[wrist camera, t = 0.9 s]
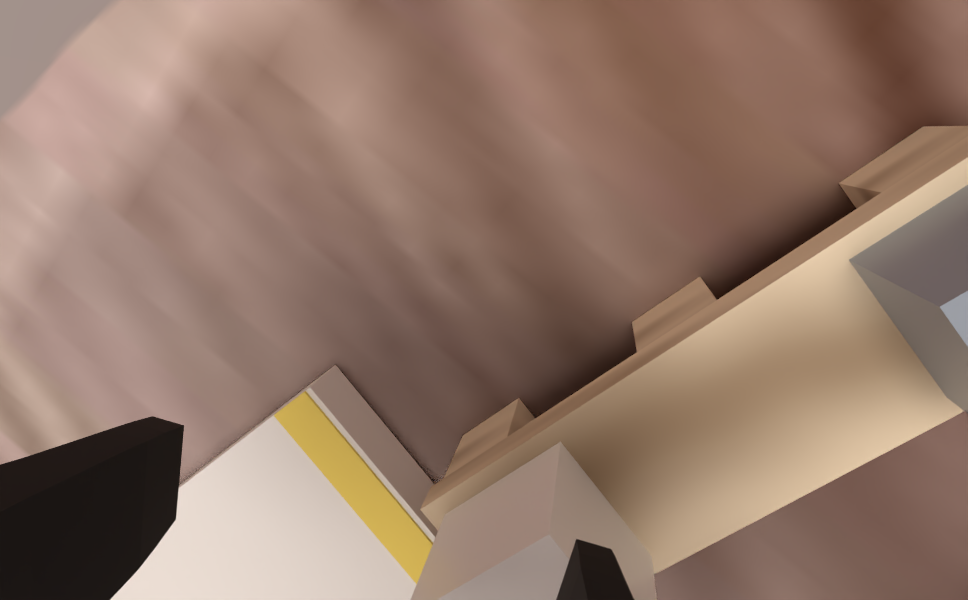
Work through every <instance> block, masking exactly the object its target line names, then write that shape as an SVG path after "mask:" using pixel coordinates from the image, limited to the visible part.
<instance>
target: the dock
mask: <svg viewBox="0 0 968 600" xmlns="http://www.w3.org/2000/svg"><path fill="white" fill-rule="evenodd" d="M433 485H434V483H433V482H432V481H431V480H430V478H429V477H428V476H427V475H426V473H425V472H424V471H423V470H422V469H421V467H420V466H419V465H418V464H417V463H416V461H415V460H414V459H413V458H412V457H411V455H410V454H409V453H408V452H407V451H406V449H405V448H404V447H403V446H402V444H401V443H400V442H399V441H398V440H397V438H396V437H395V436H394V435H393V434H392V432H391V431H390V430H389V429H388V428H387V426H386V425H385V424H384V423H383V422H382V420H381V419H380V418H379V417H378V415H377V414H376V413H375V412H374V411H373V409H372V408H371V407H370V406H369V405H368V403H367V402H366V401H365V400H364V399H363V397H362V396H361V395H360V394H359V392H358V391H357V390H356V389H355V388H354V386H353V385H352V384H351V383H350V382H349V380H348V379H347V378H346V377H345V376H344V374H343V373H342V372H341V371H340V370H339V368H338V367H337V366H336V365H334V366H333V367H332V368H330V369H329V370H328V371H327V372H325V373H324V374H323V375H321V376H320V377H319V378H318V379H316V380H315V381H314V382H312V383H311V384H310V385H308V386H307V387H306V388H305V389H303V390H302V391H301V392H299V393H298V394H297V395H296V396H294V397H293V398H292V399H290V400H289V401H288V402H286V403H285V404H284V405H283V406H281V407H280V408H279V409H277V410H276V411H275V412H274V413H272V414H271V415H270V416H268V417H267V418H266V419H264V420H263V421H262V422H261V423H259V424H258V425H257V426H255V427H254V428H253V429H251V430H250V431H249V432H248V433H246V434H245V435H244V436H242V437H241V438H240V439H239V440H237V441H236V442H235V443H233V444H232V445H231V446H229V447H228V448H227V449H226V450H224V451H223V452H222V453H220V454H219V455H218V456H217V457H215V458H214V459H213V460H211V461H210V462H209V463H207V464H206V465H205V466H204V467H202V468H201V469H200V470H198V471H197V472H196V473H195V474H193V475H192V476H191V477H189V478H188V479H187V480H185V481H184V482H183V483H182V484H180V485H179V490H178V501H177V513H176V520H175V521H174V523H173V524H172V526H171V527H170V528H169V530H168V531H167V532H166V534H165V535H164V537H163V538H162V539H161V541H160V542H159V544H158V545H157V546H156V548H155V549H154V550H153V551H152V553H151V554H150V555H149V557H148V558H147V559H146V561H145V562H144V563H143V564H142V566H141V567H140V568H139V569H138V570H137V572H136V573H135V574H134V575H133V576H132V577H131V578H130V579H129V580H128V581H127V582H126V583H125V584H124V586H123V587H122V588H121V589H120V590H119V591H118V592H117V593H116V594H115V595H114V596H113V597H112V598H111V599H110V600H411V597H412V595H413V592H414V590H415V587H416V585H417V582H418V580H419V577H420V575H421V572H422V570H423V567H424V565H425V562H426V560H427V558H428V555H429V553H430V550H431V548H432V545H433V543H434V540H435V538H436V535H437V533H438V530H437V529H436V528H435V527H434V526H433V524H432V523H431V522H430V521H429V520H428V518H427V517H426V516H425V515H424V514H423V512H422V511H421V510H420V509H421V507H422V505H423V502H424V500H425V498H426V496H427V494H428V492H429V490H430V488H431V486H433Z"/></svg>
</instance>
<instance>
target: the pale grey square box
mask: <svg viewBox="0 0 968 600" xmlns="http://www.w3.org/2000/svg"><path fill="white" fill-rule="evenodd" d="M849 261H850V263H851V264H852V265H853V267H854V268H855V270H856V271H857V272H858V274H859V275H860V277H861V278H862V279H863V281H864V282H865V284H866V285H867V286H868V288H869V289H870V291H871V292H872V293H873V295H874V296H875V298H876V299H877V300H878V302H879V303H880V305H881V306H882V307H883V309H884V310H885V312H886V313H887V314H888V316H889V317H890V319H891V320H892V321H893V323H894V324H895V326H896V327H897V328H898V330H899V331H900V333H901V334H902V335H903V337H904V338H905V340H906V341H907V342H908V344H909V345H910V347H911V348H912V349H913V351H914V352H915V354H916V355H917V356H918V358H919V359H920V361H921V362H922V363H923V365H924V366H925V368H926V369H927V370H928V372H929V373H930V375H931V376H932V377H933V379H934V380H935V382H936V383H937V384H938V386H939V387H940V389H941V390H942V391H943V393H944V394H945V396H946V397H947V398H948V399H949V400H951V401H952V402H953V403H955V404H956V405H957V406H959V407H960V408H961V409H962V410H964V411H965V412H966V413H968V185H967V186H965V187H964V188H962V189H960V190H959V191H957V192H956V193H954V194H952V195H951V196H949V197H948V198H946V199H944V200H943V201H941V202H940V203H938V204H937V205H935V206H933V207H932V208H930V209H929V210H927V211H925V212H924V213H922V214H921V215H919V216H918V217H916V218H914V219H913V220H911V221H910V222H908V223H906V224H905V225H903V226H902V227H900V228H898V229H897V230H895V231H894V232H892V233H891V234H889V235H887V236H886V237H884V238H883V239H881V240H879V241H878V242H876V243H875V244H873V245H872V246H870V247H868V248H867V249H865V250H864V251H862V252H860V253H859V254H857V255H856V256H854V257H853V258H851V259H849Z"/></svg>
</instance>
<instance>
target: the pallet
mask: <svg viewBox="0 0 968 600" xmlns="http://www.w3.org/2000/svg"><path fill="white" fill-rule="evenodd" d="M839 185H840V186H841V187H842V189H843V190H844V192H845V193H846V194H847V196H848V197H849V199H850V200H851V202H852V203H853V204H854V206H855V207H856V210H854V211H853V212H851V213H849V214H848V215H846V216H845V217H843V218H842V219H840V220H839V221H837V222H836V223H834V224H833V225H831V226H830V227H828V228H826V229H825V230H823V231H822V232H820V233H819V234H817V235H816V236H814V237H813V238H811V239H810V240H808V241H807V242H805V243H804V244H802V245H800V246H799V247H797V248H796V249H794V250H793V251H791V252H790V253H788V254H787V255H785V256H784V257H782V258H781V259H779V260H777V261H776V262H774V263H773V264H771V265H770V266H768V267H767V268H765V269H764V270H762V271H761V272H759V273H758V274H756V275H754V276H753V277H751V278H750V279H748V280H747V281H745V282H744V283H742V284H741V285H739V286H738V287H736V288H735V289H733V290H732V291H730V292H728V293H727V294H725V295H724V296H722V297H721V298H719V299H718V300H717V299H716V297H715V296H714V295H713V293H712V292H711V291H710V289H709V288H708V287H707V285H706V284H705V283H704V281H703V280H702V279H701V277H698V278H697V279H695V280H694V281H692V282H691V283H689V284H688V285H686V286H685V287H683V288H682V289H680V290H679V291H677V292H676V293H674V294H673V295H671V296H670V297H668V298H667V299H665V300H664V301H662V302H661V303H659V304H658V305H656V306H655V307H653V308H652V309H650V310H649V311H648V312H646V313H645V314H643V315H642V316H640V317H639V318H637V319H636V320H634V321H633V322H632V326H633V332H634V338H635V344H636V350H637V353H635V354H633V355H632V356H630V357H629V358H627V359H626V360H624V361H623V362H621V363H620V364H618V365H617V366H615V367H614V368H612V369H611V370H609V371H607V372H606V373H604V374H603V375H601V376H600V377H598V378H597V379H595V380H594V381H592V382H591V383H589V384H588V385H586V386H584V387H583V388H581V389H580V390H578V391H577V392H575V393H574V394H572V395H571V396H569V397H568V398H566V399H565V400H563V401H561V402H560V403H558V404H557V405H555V406H554V407H552V408H551V409H549V410H548V411H546V412H545V413H543V414H542V415H540V416H539V417H537V418H535V417H534V416H533V415H532V414H531V412H530V411H529V410H528V409H527V407H526V406H525V405H524V404H523V402H522V401H521V400H520V399H519V398H518V399H516V400H515V401H513V402H512V403H510V404H509V405H507V406H506V407H504V408H503V409H501V410H500V411H498V412H497V413H496V414H494V415H493V416H491V417H490V418H488V419H487V420H485V421H484V422H482V423H481V424H479V425H478V426H476V427H475V428H473V429H472V430H470V431H469V432H467V433H466V434H464V435H463V436H462V439H461V441H460V443H459V445H458V447H457V450H456V452H455V454H454V456H453V459H452V461H451V463H450V465H449V468H448V470H447V472H446V474H445V476H444V479H442V480H440V481H439V482H437V483H436V484H434V485H433V486H431V488H430V490H429V492H428V494H427V496H426V498H425V500H424V502H423V505H422V507H421V509H420V510H421V511H422V512H423V514H424V515H425V516H426V517H427V518H428V520H429V521H430V522H431V523H432V524H433V526H434V527H435V528H436V529H437V530H439V528H440V525H441V523H442V520H443V518H444V515H445V514H446V513H448V512H450V511H451V510H453V509H454V508H456V507H458V506H459V505H461V504H462V503H464V502H466V501H467V500H469V499H470V498H472V497H473V496H475V495H477V494H478V493H480V492H481V491H483V490H485V489H486V488H488V487H489V486H491V485H492V484H494V483H496V482H497V481H499V480H500V479H502V478H504V477H505V476H507V475H508V474H510V473H512V472H513V471H515V470H516V469H518V468H519V467H521V466H523V465H524V464H526V463H527V462H529V461H531V460H532V459H534V458H535V457H537V456H538V455H540V454H542V453H543V452H545V451H546V450H548V449H550V448H551V447H553V446H554V445H556V444H558V443H559V442H561V443H562V444H563V445H564V446H565V448H566V449H567V450H568V452H569V453H570V454H571V455H572V457H573V458H574V459H575V460H576V462H577V463H578V464H579V465H580V467H581V468H582V469H583V470H584V472H585V473H586V474H587V475H588V477H589V478H590V479H591V480H592V482H593V483H594V484H595V485H596V487H597V488H598V489H599V490H600V492H601V493H602V494H603V496H604V497H605V498H606V499H607V501H608V502H609V503H610V504H611V506H612V507H613V508H614V509H615V511H616V512H617V513H618V514H619V516H620V517H621V518H622V519H623V521H624V522H625V523H626V524H627V526H628V527H629V528H630V529H631V531H632V532H633V533H634V534H635V536H636V537H637V538H638V540H639V541H640V542H641V543H642V545H643V546H644V547H645V548H646V550H647V551H648V552H649V553H650V555H651V556H652V562H653V570H654V574H656V573H658V572H660V571H662V570H664V569H666V568H668V567H670V566H672V565H673V564H675V563H677V562H679V561H681V560H683V559H685V558H687V557H689V556H691V555H692V554H694V553H696V552H698V551H700V550H702V549H704V548H706V547H708V546H709V545H711V544H713V543H715V542H717V541H719V540H721V539H723V538H725V537H727V536H728V535H730V534H732V533H734V532H736V531H738V530H740V529H742V528H744V527H746V526H747V525H749V524H751V523H753V522H755V521H757V520H759V519H761V518H763V517H764V516H766V515H768V514H770V513H772V512H774V511H776V510H778V509H780V508H782V507H783V506H785V505H787V504H789V503H791V502H793V501H795V500H797V499H799V498H801V497H802V496H804V495H806V494H808V493H810V492H812V491H814V490H816V489H818V488H819V487H821V486H823V485H825V484H827V483H829V482H831V481H833V480H835V479H837V478H838V477H840V476H842V475H844V474H846V473H848V472H850V471H852V470H854V469H855V468H857V467H859V466H861V465H863V464H865V463H867V462H869V461H871V460H873V459H874V458H876V457H878V456H880V455H882V454H884V453H886V452H888V451H890V450H892V449H893V448H895V447H897V446H899V445H901V444H903V443H905V442H907V441H909V440H910V439H912V438H914V437H916V436H918V435H920V434H922V433H924V432H926V431H928V430H929V429H931V428H933V427H935V426H937V425H939V424H941V423H943V422H945V421H947V420H948V419H950V418H952V417H954V416H956V415H958V414H960V413H962V412H964V410H962V409H961V408H960V407H959V406H957V405H956V404H955V403H953V402H952V401H951V400H949V399H948V398H947V397H946V396H945V394H944V393H943V391H942V390H941V389H940V387H939V386H938V384H937V383H936V382H935V380H934V379H933V377H932V376H931V375H930V373H929V372H928V370H927V369H926V368H925V366H924V365H923V363H922V362H921V361H920V359H919V358H918V356H917V355H916V354H915V352H914V351H913V349H912V348H911V347H910V345H909V344H908V342H907V341H906V340H905V338H904V337H903V335H902V334H901V333H900V331H899V330H898V328H897V327H896V326H895V324H894V323H893V321H892V320H891V319H890V317H889V316H888V314H887V313H886V312H885V310H884V309H883V307H882V306H881V305H880V303H879V302H878V300H877V299H876V298H875V296H874V295H873V293H872V292H871V291H870V289H869V288H868V286H867V285H866V284H865V282H864V281H863V279H862V278H861V277H860V275H859V274H858V272H857V271H856V270H855V268H854V267H853V265H852V264H851V263H850V261H849V259H851V258H853V257H854V256H856V255H857V254H859V253H860V252H862V251H864V250H865V249H867V248H868V247H870V246H872V245H873V244H875V243H876V242H878V241H879V240H881V239H883V238H884V237H886V236H887V235H889V234H891V233H892V232H894V231H895V230H897V229H898V228H900V227H902V226H903V225H905V224H906V223H908V222H910V221H911V220H913V219H914V218H916V217H918V216H919V215H921V214H922V213H924V212H925V211H927V210H929V209H930V208H932V207H933V206H935V205H937V204H938V203H940V202H941V201H943V200H944V199H946V198H948V197H949V196H951V195H952V194H954V193H956V192H957V191H959V190H960V189H962V188H964V187H965V186H967V185H968V126H925V127H922V128H920V129H919V130H917V131H916V132H914V133H913V134H911V135H910V136H908V137H907V138H905V139H904V140H902V141H901V142H899V143H898V144H896V145H895V146H893V147H892V148H890V149H889V150H887V151H886V152H884V153H883V154H881V155H880V156H878V157H877V158H875V159H874V160H873V161H871V162H870V163H868V164H867V165H865V166H864V167H862V168H861V169H859V170H858V171H856V172H855V173H853V174H852V175H850V176H849V177H847V178H846V179H844V180H843V181H841V182H840V183H839Z"/></svg>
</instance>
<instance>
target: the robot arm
mask: <svg viewBox="0 0 968 600" xmlns="http://www.w3.org/2000/svg"><path fill="white" fill-rule="evenodd" d="M183 431H184V425H180V424H177V423H173V422H170V421H166V420H163V419H159V418H156V417H149V418H145V419H141V420H138V421H134V422H131V423H128V424H124V425H121V426H118V427H115V428H112V429H109V430H106V431H103V432H100V433H97V434H94V435H91V436H88V437H85V438H82V439H79V440H76V441H73V442H70V443H67V444H64V445H61V446H58V447H55V448H52V449H49V450H46V451H43V452H40V453H37V454H34V455H31V456H28V457H25V458H21V459H18V460H15V461H11V462H8V463H5V464H1V465H0V600H110V599H111V598H112V597H113V596H114V595H115V594H116V593H117V592H118V591H119V590H120V589H121V588H122V587H123V586H124V584H125V583H126V582H127V581H128V580H129V579H130V578H131V577H132V576H133V575H134V574H135V573H136V572H137V570H138V569H139V568H140V567H141V566H142V564H143V563H144V562H145V561H146V559H147V558H148V557H149V555H150V554H151V553H152V551H153V550H154V549H155V548H156V546H157V545H158V544H159V542H160V541H161V539H162V538H163V537H164V535H165V534H166V532H167V531H168V530H169V528H170V527H171V526H172V524H173V523H174V521H175V520H176V513H177V501H178V490H179V478H180V466H181V454H182V443H183ZM556 600H634V598H633V596H632V593H631V591H630V589H629V587H628V584H627V582H626V580H625V577H624V575H623V573H622V570H621V568H620V566H619V563H618V561H617V559H616V556H615V555H614V553H613V551H612V549H610V548H606V547H603V546H599V545H596V544H593V543H589V542H586V541H582V540H579V539H576V541H575V544H574V547H573V550H572V553H571V556H570V559H569V562H568V565H567V568H566V571H565V574H564V578H563V581H562V584H561V587H560V590H559V593H558V596H557V599H556Z"/></svg>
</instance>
